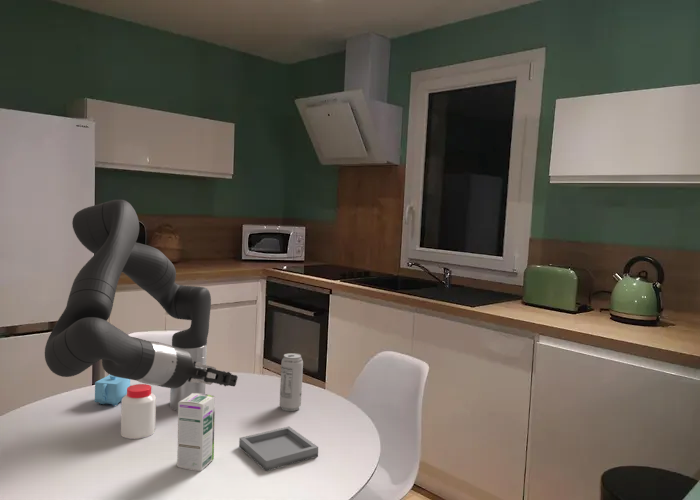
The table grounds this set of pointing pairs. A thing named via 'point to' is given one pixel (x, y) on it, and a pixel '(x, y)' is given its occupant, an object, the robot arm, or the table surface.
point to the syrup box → (196, 431)
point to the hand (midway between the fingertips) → (220, 377)
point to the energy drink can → (291, 382)
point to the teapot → (111, 389)
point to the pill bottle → (138, 412)
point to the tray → (278, 448)
